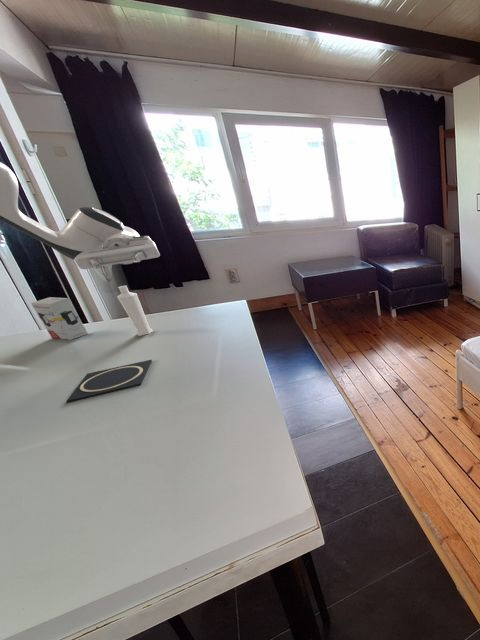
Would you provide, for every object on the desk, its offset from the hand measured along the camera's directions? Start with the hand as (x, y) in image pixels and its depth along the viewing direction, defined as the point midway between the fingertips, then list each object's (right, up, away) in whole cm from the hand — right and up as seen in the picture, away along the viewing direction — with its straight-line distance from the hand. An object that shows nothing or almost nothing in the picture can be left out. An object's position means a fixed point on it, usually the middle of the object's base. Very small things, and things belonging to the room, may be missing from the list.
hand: (116, 262), depth 111 cm
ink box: (-18, -22, +4) cm, 29 cm away
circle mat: (+21, -34, -23) cm, 46 cm away
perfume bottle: (+6, -21, +3) cm, 22 cm away
